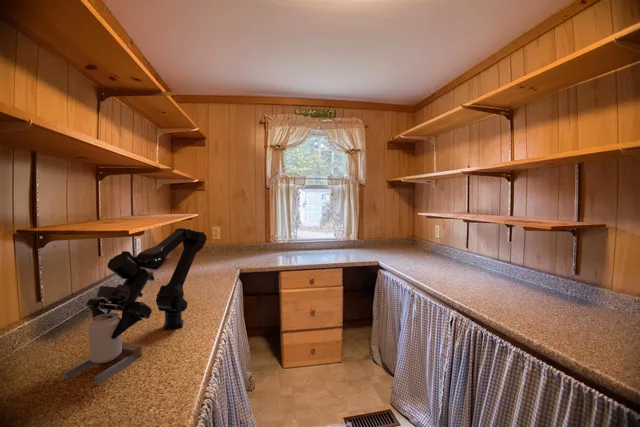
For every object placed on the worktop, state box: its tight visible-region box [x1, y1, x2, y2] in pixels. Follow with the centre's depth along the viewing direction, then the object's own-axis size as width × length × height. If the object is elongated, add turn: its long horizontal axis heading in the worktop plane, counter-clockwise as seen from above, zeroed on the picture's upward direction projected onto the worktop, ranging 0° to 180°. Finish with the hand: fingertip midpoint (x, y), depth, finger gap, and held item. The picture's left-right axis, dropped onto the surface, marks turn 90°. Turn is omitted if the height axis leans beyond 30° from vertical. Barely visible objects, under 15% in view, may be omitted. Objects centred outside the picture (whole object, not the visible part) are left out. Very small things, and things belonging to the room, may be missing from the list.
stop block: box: [114, 342, 143, 362], centre depth 87 cm, size 3×11×4 cm, turn 78°
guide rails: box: [63, 355, 135, 386], centre depth 80 cm, size 11×11×2 cm
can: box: [88, 312, 123, 364], centre depth 82 cm, size 8×8×12 cm
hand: (101, 337), depth 80 cm, fingers closed on can, 7 cm apart
